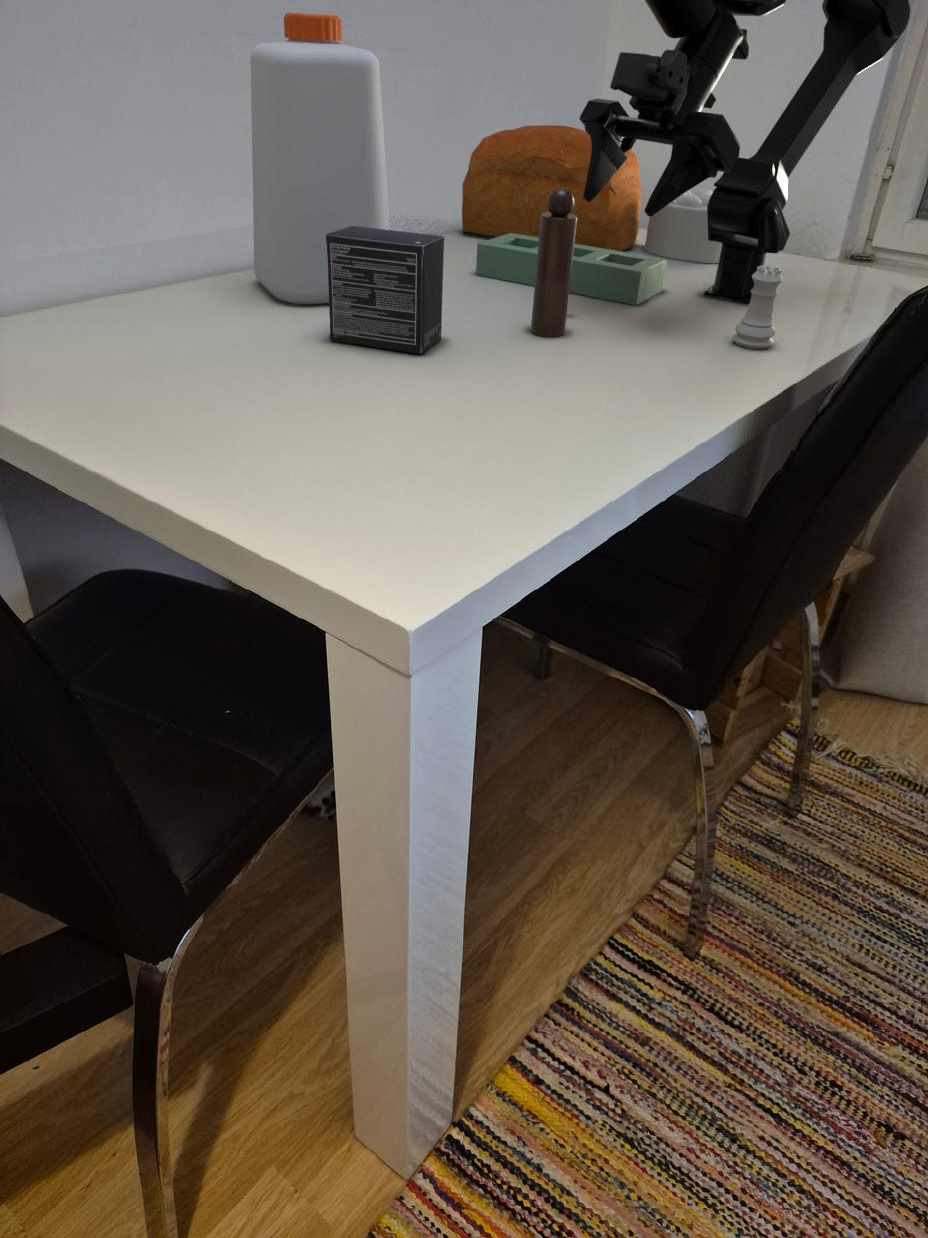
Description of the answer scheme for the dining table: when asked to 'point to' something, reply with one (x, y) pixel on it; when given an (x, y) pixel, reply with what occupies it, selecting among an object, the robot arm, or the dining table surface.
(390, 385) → the dining table surface
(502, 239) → the green three-slot holder
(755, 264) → the robot arm
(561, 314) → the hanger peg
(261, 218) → the plastic bottle
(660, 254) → the lumpy-topped squat cylinder
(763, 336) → the rook chess piece
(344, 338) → the small box
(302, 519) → the dining table surface
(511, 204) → the bread
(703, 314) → the dining table surface
